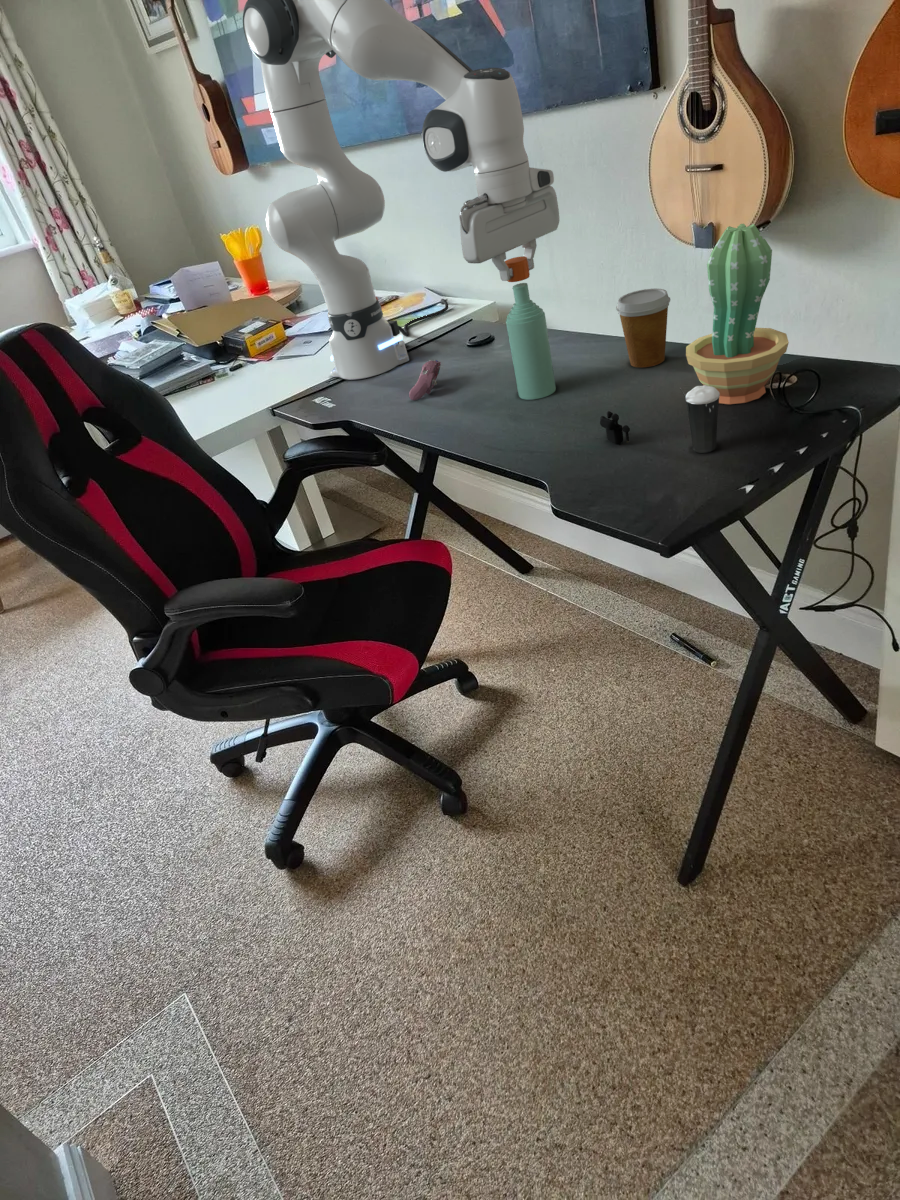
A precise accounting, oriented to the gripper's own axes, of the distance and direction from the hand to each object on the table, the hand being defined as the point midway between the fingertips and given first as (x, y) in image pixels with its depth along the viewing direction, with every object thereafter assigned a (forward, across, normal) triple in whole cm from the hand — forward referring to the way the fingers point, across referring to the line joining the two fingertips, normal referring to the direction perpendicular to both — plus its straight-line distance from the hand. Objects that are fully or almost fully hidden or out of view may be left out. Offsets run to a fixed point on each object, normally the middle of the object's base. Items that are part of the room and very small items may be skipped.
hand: (518, 274), depth 134 cm
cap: (+1, 0, 0) cm, 1 cm away
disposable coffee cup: (+21, +18, -12) cm, 30 cm away
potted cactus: (+21, +10, -35) cm, 42 cm away
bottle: (+21, 0, 0) cm, 21 cm away
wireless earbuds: (+21, -12, -28) cm, 37 cm away
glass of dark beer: (+21, -8, -41) cm, 47 cm away
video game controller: (+22, -7, +24) cm, 33 cm away
